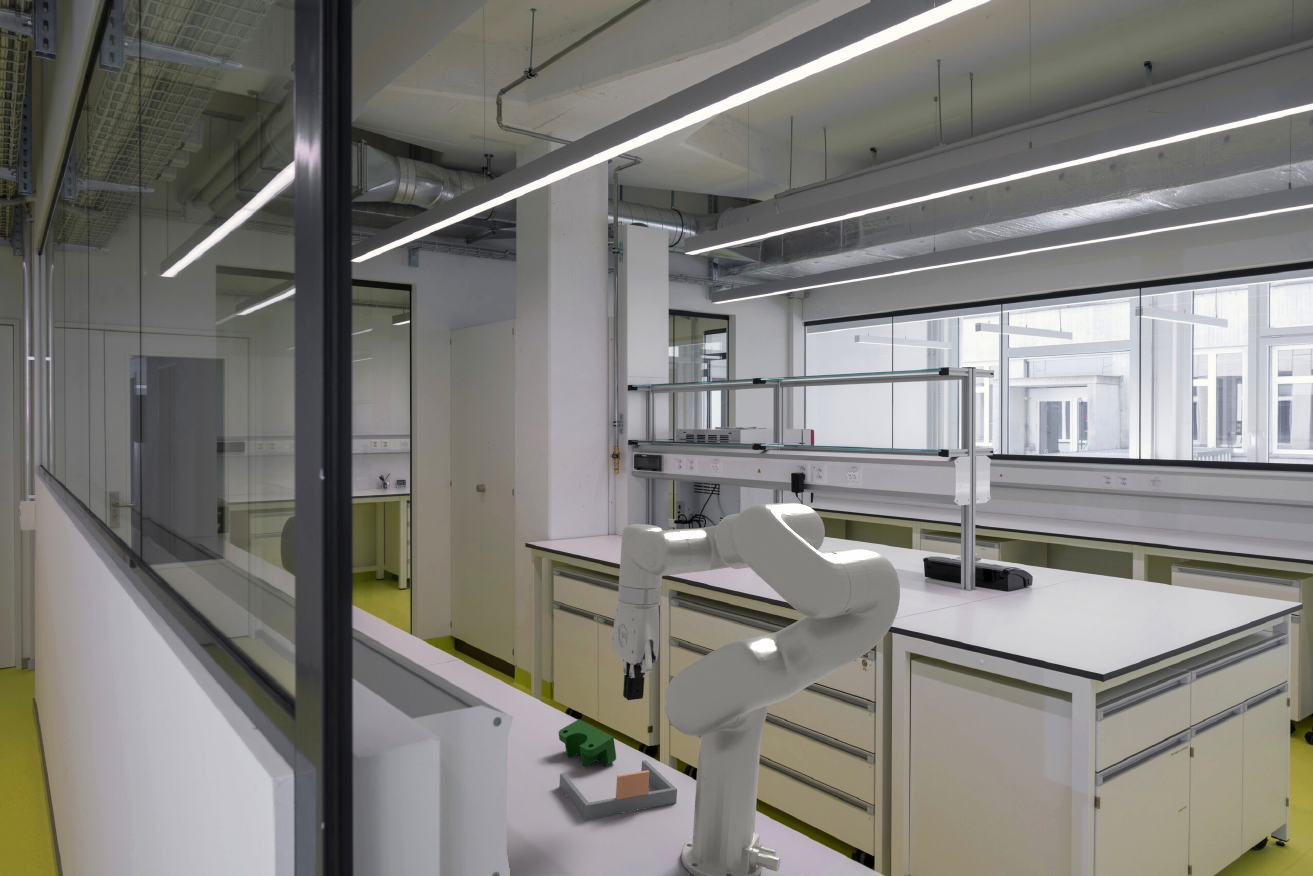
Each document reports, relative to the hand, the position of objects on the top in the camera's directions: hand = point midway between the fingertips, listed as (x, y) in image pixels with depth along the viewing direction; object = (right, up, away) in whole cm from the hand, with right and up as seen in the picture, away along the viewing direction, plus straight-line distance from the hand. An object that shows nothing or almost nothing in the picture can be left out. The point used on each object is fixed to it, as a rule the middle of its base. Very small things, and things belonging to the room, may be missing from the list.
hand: (633, 697), depth 138 cm
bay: (-3, -19, +4) cm, 19 cm away
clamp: (-10, -19, +18) cm, 28 cm away
